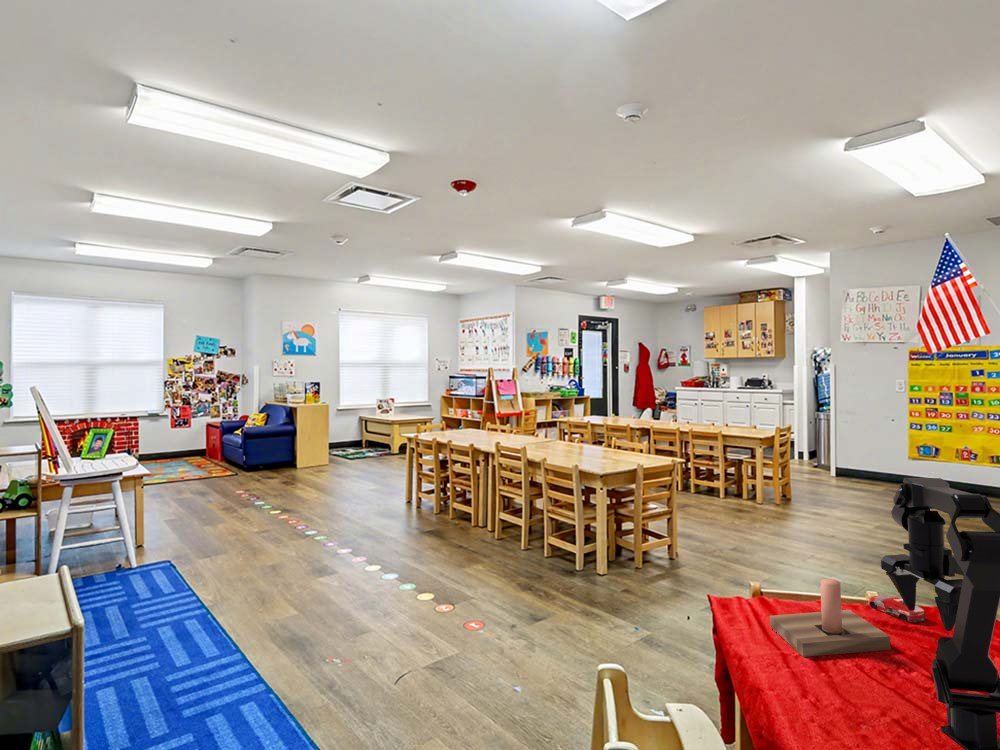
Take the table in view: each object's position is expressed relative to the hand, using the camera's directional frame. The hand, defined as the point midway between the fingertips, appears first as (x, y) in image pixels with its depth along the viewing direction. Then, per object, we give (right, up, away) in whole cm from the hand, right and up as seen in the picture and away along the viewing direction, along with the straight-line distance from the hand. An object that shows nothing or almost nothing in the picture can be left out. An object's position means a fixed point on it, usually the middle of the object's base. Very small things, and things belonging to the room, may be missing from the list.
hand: (929, 620), depth 115 cm
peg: (-8, -13, +19) cm, 24 cm away
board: (-8, -13, +21) cm, 26 cm away
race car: (+15, -12, +32) cm, 37 cm away
